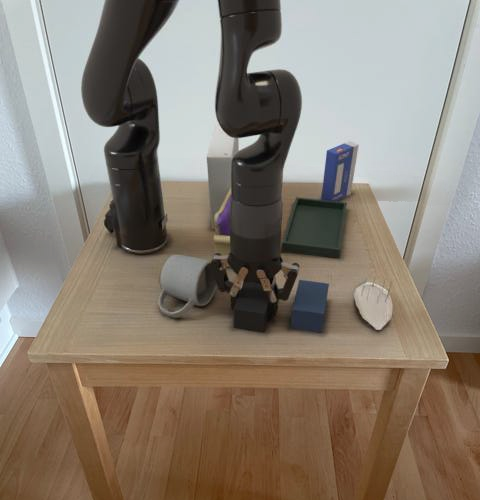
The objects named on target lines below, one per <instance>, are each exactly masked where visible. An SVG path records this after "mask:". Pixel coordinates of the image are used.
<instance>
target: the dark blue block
mask: <svg viewBox="0 0 480 500" xmlns="http://www.w3.org/2000/svg"><path fill="white" fill-rule="evenodd" d="M329 287H330V283H329V282H328V283H326V282H320V281H312V280H305V279H298V283H297V287H296V291H295V297H294V301H293V304H292V309H291V320H290V329H294V330H301V331H307V332H314V333H322V332H323V325H324V319H325V314H326V313H325V312H326V307H327V301H328V293H329Z"/></svg>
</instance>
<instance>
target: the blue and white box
mask: <svg viewBox="0 0 480 500" xmlns="http://www.w3.org/2000/svg"><path fill="white" fill-rule="evenodd" d="M359 146H360V145H359V144H357V143H355V142H353V141H350V140H349V141H346V142H344V143H342V144H339V145H337V146H335V147H332V148H330V149H327V150H326V154H325V161H324V162H325V163H324V170H323V171H324V173H323V179H322V189H321V198H320V200H328V201H338V202H339V201H340V200H342V199H344V198H346V197H348V196H350V195H351V194H352V189H353V183H354V182H353V181H354V176H355V172H356V165H357V159H358V153H359V152H358V151H359Z"/></svg>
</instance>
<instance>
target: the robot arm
mask: <svg viewBox="0 0 480 500" xmlns="http://www.w3.org/2000/svg"><path fill="white" fill-rule="evenodd" d="M179 3H180V0H104V2H103V7H102V11H101V16H100V18H99V19H100V20H99V23H98V27H97V29H96V34H95V37H94V40H93V43H92V45H91V47H90V50H89V53H88V54H89V55H88V57H87V60H86V63H85V66H84V69H83V73H82V77H81V84H80V85H81V86H80V92H81V100H82V105H83V109H84V110H85V112H86V115H87V116H88V118H89V119H90V120H91V121H92V122H93V123H94V124H96V125H97V126H100V127H104V128H114V127H117V129H116V130H115V132H114V133H113V135H112V136H110V138H109V139H108V140H107V141H106V142H105V143H104V146H103V154H104V161H105V165H106V170H107V176H108V181H109V186H110V191H111V197H112V199H111V200H110V202H109V205H108V206H109V210H107V211H106V213H105V214H104V217H105V218H104V219H103V226H104V227H105V229H106V230H107V231H108V232H109V234H113V233H114V237H115V241H116V247H117V248H121V249H122V250H123V251H125V252H127V253H129V254H134V255H148V254H153V253H156V252H158V251H161V250H162V249H164V248H165V247H166V246H167V244H168V242H169V237H168V231H167V223H168V221H169V220H168V214H167V213H166V214H165V205H164V197H163V189H162V188H163V187H162V181H161V180H162V179H161V173H160V172H161V171H160V163H159V154H158V149H159V146H160V141H161V132H160V129H161V128H160V118H159V117H160V116H159V115H160V114H159V113H160V112H159V99H158V90H157V87H156V82H155V78H154V76H153V74H152V72H151V70H150V68H149V66H148V65H147V64H146V63H145V62H144V61H143V60H142V59H141V58H140V56H141V55H142V53H143V52H144V51H145V49H146V48H147V47H148V46H149V45H150V43H151V42H152V41H153V40H154V39H155V38H156V36H157V35H158V34H159V33H160V31H161V30H162V29H163V28H164V26H165V25H166V24H167V22H168V21H169V20H170V18H171V17H172V16H173V14H174V12H175V11H176V9H177V7H178V5H179ZM281 5H282V4H281V0H217V8H218V16H219V25H220V49H219V50H220V51H219V63H218V73H217V78H216V86H215V94H214V114H215V119H216V118H217V121H218V123H219V125H220V127H221V129H222V130H223V131H224V132H225V133H226V134H227V135H228V136H230V137H232V138H238V139H243V138H249V137H253V136H258V138H257V140H255V141H254V142H253V143H250V144H249V145H248V146H245V147H243V148H241V149H239V151H238V152H236V153H235V154H234V155H233V157H232V160H231V201H230V215H229V223H230V253H229V255H223V256H222V255H221V254H220V253H215V252H214V253H215V254H214V255H213V256H212V258H211V260H210V261H211V268H212V271H213V274H214V277H215V280H216V283H217V287H216V288H217V289H218V291H219V292H220V293H225V292H226V293H227V294H228V295H229V296H230V299H229V300H230V310H231V311H234V307H235V304H236V301H237V299H238V297H239V294H240V291H241V288H242V285H243V283H244V282H247V283H251V282H254V283H257V284H261V285H262V286H263V289H264V291H265V292H266V293H267V295H268V298H269V300H268V320H269V319H273V317H276V315H277V313H278V309H279V301H283V302H287V301H288V300H289V298H290V295H291V293H292V290H293V288H294V285H295V283H296V280H297V278H298V275H299V270H300V264H299V263H298V262H293V263H292V264H290V263H287V262H284V260H283V258H282V256H281V248H282V229H283V212H284V211H283V210H284V209H283V182H284V180H283V179H284V168H285V164H286V162H287V158H288V156H289V152H290V149H291V147H292V143H293V140H294V137H295V134H296V132H297V129H298V126H299V123H300V120H301V115H302V109H303V96H302V91H301V86H300V84H299V82H298V79H297V77H296V76H295V75H294V73H292V72H291V71H289V70H287V69H282V68H279V69H278V68H277V69H270V70H262V71H261V70H260V71H254V72H248V67H249V64H250V60H251V58H252V56H253V55H254V53H256V52H258V51H261V50H262V49H263V50H264V49H266V48H268V47H271V46H273V45H275V44H277V43H278V42H279V40H280V39H281V36H282V33H283V32H282V31H283V19H282V6H281ZM227 263H228V264H229V265H230V267H229V268H231V269H232V271H233V272H234V273H235V274H236V276H235V278H234V280H233V281H230V279H229V275H228V272H227V269H226V268H227V267H226V266H227ZM280 271H282V274H283V275H282V276H283V278H284V279H285V282H284V284H283V287H281V288H279V285H278V284H277V278H276V275H277V274H278V273H279V272H280Z"/></svg>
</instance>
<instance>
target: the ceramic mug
mask: <svg viewBox="0 0 480 500" xmlns="http://www.w3.org/2000/svg"><path fill="white" fill-rule="evenodd" d="M211 261H212V260H210V259H209V260H208V259H203V258H199V257H194V256H188V255H183V254H171V255H168V257H166V258H165V260H164V261H163V262H162V264H161V266H160V268H159V271H158V284H159V288H160V289H161V292H160V293H159V296H158V300H157V303H158V307H159V309H160V311H161V312H162V313H163V315H165V316H167V317H169V318H171V319H172V318H173V319H175V318H180V317H183V316H185V315H186V314H187V313H189V312H190V310H191V309H193V307H194V306H198V307H204V306H206V305H208V304H209V303H210V302H211V300H212V299H213V297H214V295H215V293H216V291H217V288H218V287H217V283H216V280H215V277H214V274H213V271H212V268H211ZM167 296H169V297H173V298H176V299H179V300H182V301H184V302H186V304H185V305H184V306H183V307H182V308H180V309H179V310H175V311H172V312H171V311H169V310H168V308H167V307H165V306H164V302H165V299H166V297H167Z"/></svg>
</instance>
